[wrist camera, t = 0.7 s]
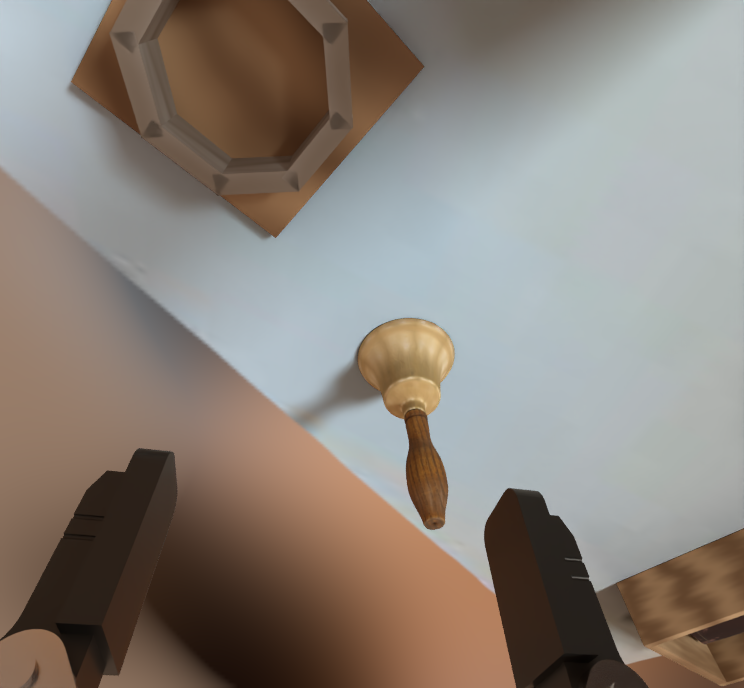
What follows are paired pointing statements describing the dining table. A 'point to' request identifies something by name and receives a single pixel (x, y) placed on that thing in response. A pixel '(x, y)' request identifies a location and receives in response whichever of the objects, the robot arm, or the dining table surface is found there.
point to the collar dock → (249, 89)
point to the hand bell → (413, 400)
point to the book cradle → (693, 607)
